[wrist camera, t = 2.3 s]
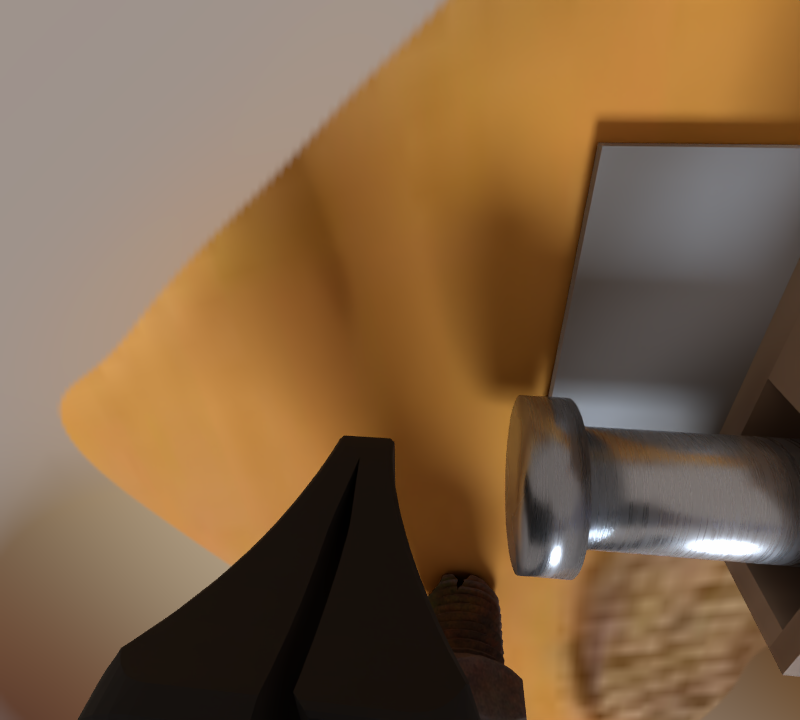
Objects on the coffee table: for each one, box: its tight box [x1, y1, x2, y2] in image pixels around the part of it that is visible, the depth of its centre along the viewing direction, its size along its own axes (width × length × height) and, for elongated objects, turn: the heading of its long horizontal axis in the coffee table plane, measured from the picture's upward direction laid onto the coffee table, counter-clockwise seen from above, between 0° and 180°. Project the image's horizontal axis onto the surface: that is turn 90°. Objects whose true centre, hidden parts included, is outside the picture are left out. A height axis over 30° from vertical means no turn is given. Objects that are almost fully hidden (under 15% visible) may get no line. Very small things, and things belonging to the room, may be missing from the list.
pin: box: [505, 395, 800, 580], centre depth 12 cm, size 10×4×4 cm, turn 91°
